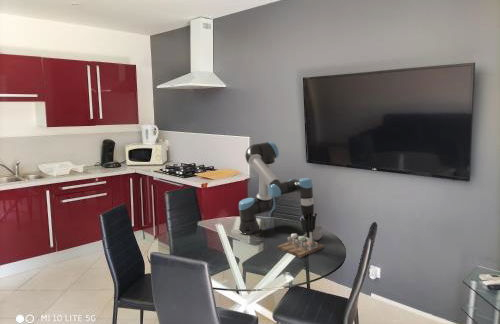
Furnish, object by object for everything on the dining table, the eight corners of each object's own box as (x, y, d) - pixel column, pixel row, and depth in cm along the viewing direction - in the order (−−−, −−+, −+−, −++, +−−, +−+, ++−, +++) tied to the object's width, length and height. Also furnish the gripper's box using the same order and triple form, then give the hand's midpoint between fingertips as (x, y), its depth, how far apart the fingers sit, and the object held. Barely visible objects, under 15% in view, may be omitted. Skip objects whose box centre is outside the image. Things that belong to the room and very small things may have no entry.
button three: (305, 247, 224) (305, 242, 223) (310, 245, 226) (309, 240, 226) (310, 249, 221) (309, 244, 220) (315, 247, 223) (314, 242, 222)
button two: (297, 242, 229) (297, 237, 229) (302, 240, 232) (301, 235, 231) (301, 243, 226) (301, 238, 226) (306, 241, 228) (306, 237, 228)
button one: (289, 239, 235) (289, 234, 235) (294, 237, 237) (294, 232, 237) (294, 240, 232) (293, 236, 231) (298, 238, 234) (298, 234, 234)
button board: (277, 248, 231) (277, 241, 230) (300, 239, 242) (299, 232, 241) (300, 257, 215) (299, 249, 214) (322, 247, 226) (322, 240, 225)
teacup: (322, 242, 234) (321, 230, 233) (305, 242, 237) (304, 230, 235) (322, 234, 248) (322, 222, 247) (306, 234, 250) (305, 223, 249)
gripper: (303, 208, 212) (306, 247, 216) (319, 202, 220) (322, 240, 224) (294, 205, 218) (297, 243, 222) (310, 200, 226) (313, 237, 230)
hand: (310, 242), depth 223 cm, fingers closed
